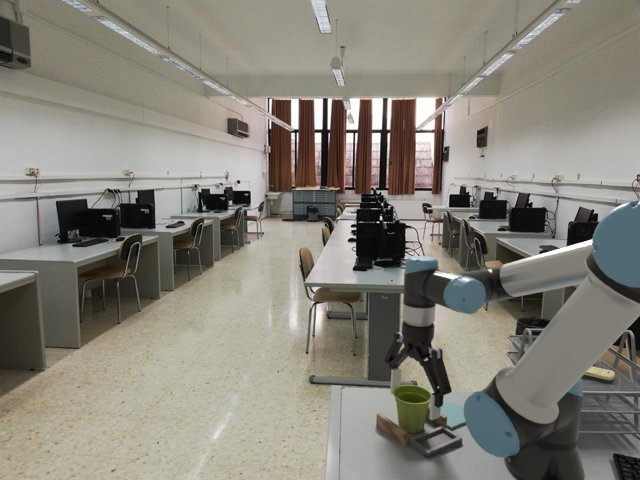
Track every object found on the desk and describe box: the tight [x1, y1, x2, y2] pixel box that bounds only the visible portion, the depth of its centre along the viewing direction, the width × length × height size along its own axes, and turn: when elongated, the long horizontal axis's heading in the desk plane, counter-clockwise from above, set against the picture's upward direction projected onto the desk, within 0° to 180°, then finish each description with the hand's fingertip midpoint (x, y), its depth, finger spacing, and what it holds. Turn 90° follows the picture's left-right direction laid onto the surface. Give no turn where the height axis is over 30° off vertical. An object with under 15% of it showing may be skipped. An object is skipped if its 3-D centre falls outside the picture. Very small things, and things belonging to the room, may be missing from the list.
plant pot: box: [392, 384, 432, 434], centre depth 106 cm, size 9×9×9 cm
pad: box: [440, 401, 466, 431], centre depth 112 cm, size 10×10×1 cm
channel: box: [376, 405, 448, 447], centre depth 106 cm, size 10×14×3 cm
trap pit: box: [408, 425, 463, 459], centre depth 99 cm, size 6×11×1 cm, turn 122°
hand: (413, 404), depth 105 cm, fingers open, 13 cm apart
